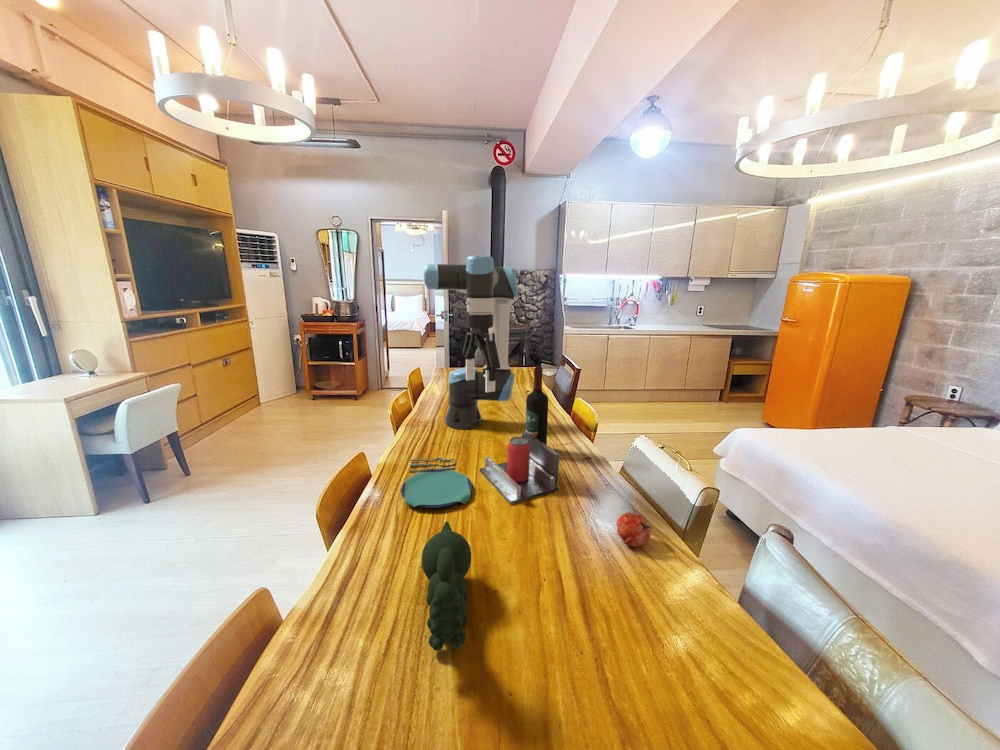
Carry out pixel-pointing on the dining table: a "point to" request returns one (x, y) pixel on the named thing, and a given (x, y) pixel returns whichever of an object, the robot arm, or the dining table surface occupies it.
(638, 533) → the pomegranate
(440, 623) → the toy figurine
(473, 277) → the robot arm
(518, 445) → the beer can
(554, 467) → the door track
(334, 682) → the dining table surface
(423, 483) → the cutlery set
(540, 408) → the wine bottle
